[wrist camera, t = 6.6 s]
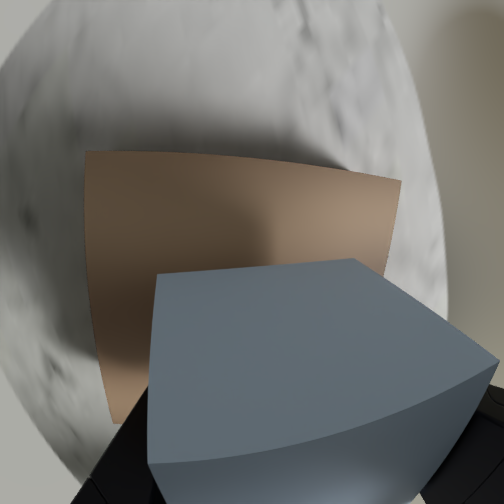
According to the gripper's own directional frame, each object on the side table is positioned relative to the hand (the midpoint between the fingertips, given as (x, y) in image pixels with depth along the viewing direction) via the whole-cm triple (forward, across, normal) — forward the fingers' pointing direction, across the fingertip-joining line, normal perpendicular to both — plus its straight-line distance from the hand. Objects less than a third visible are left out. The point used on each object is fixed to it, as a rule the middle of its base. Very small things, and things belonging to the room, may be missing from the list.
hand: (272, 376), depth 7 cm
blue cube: (+1, 0, 0) cm, 1 cm away
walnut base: (+7, 0, 0) cm, 7 cm away
